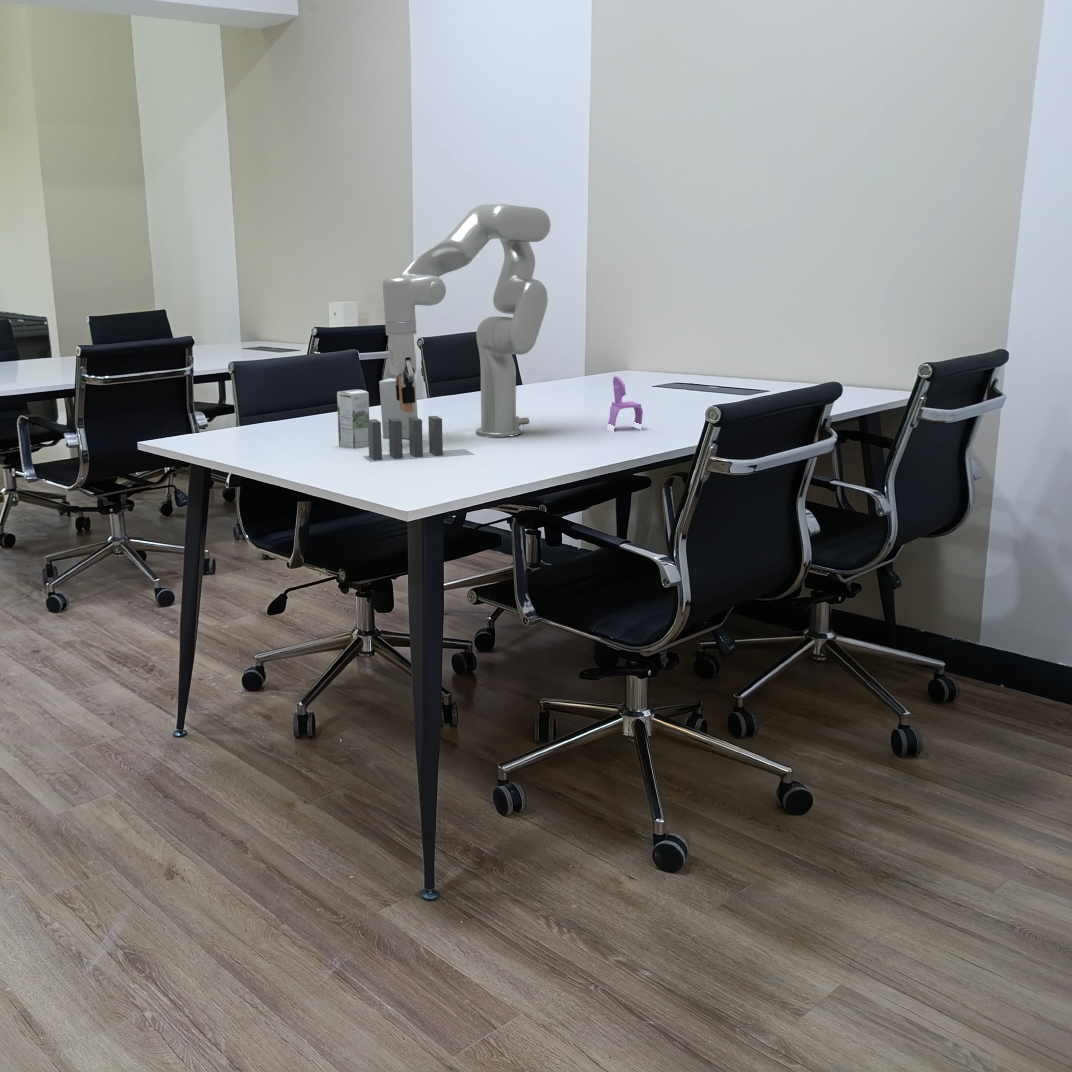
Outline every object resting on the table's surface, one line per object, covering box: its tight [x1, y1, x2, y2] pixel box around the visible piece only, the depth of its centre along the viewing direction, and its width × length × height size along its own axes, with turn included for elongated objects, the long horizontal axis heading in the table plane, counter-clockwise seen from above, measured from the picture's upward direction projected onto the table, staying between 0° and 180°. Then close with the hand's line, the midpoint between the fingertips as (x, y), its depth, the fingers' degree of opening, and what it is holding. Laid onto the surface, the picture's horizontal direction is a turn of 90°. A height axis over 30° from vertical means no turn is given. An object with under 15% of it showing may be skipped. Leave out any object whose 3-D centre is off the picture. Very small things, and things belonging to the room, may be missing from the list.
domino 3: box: [398, 374, 413, 413], centre depth 264 cm, size 2×5×9 cm, turn 22°
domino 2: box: [388, 418, 404, 459], centre depth 252 cm, size 2×5×9 cm, turn 21°
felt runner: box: [362, 448, 475, 463], centre depth 255 cm, size 26×8×1 cm, turn 111°
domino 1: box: [368, 418, 383, 460], centre depth 250 cm, size 2×5×9 cm, turn 21°
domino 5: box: [427, 415, 444, 456], centre depth 255 cm, size 2×5×9 cm, turn 21°
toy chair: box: [607, 376, 644, 427], centre depth 294 cm, size 8×9×15 cm
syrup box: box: [336, 389, 370, 450], centre depth 266 cm, size 6×6×14 cm
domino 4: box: [408, 417, 424, 457], centre depth 254 cm, size 2×5×9 cm, turn 21°
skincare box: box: [378, 377, 419, 440], centre depth 281 cm, size 8×7×16 cm
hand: (405, 400), depth 264 cm, fingers closed on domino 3, 4 cm apart
